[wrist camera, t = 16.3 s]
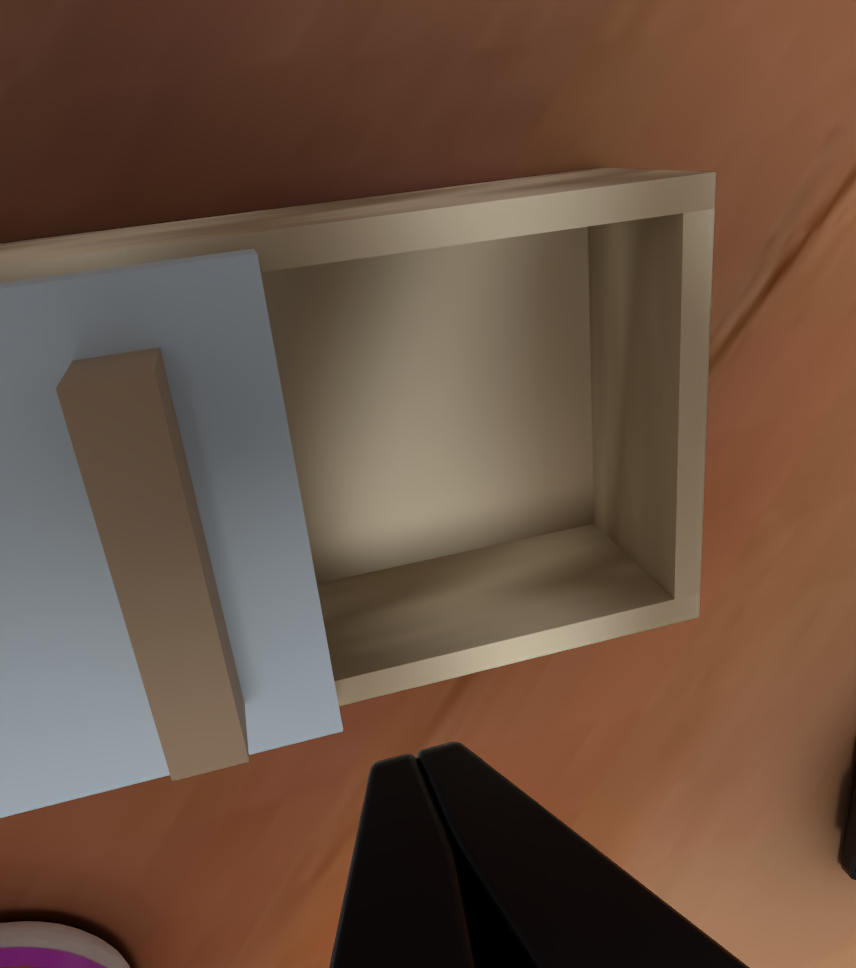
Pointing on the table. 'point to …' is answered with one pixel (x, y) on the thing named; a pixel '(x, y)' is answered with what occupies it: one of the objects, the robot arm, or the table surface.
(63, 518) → the lid
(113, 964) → the supplement bottle
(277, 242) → the wooden box
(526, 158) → the table surface
